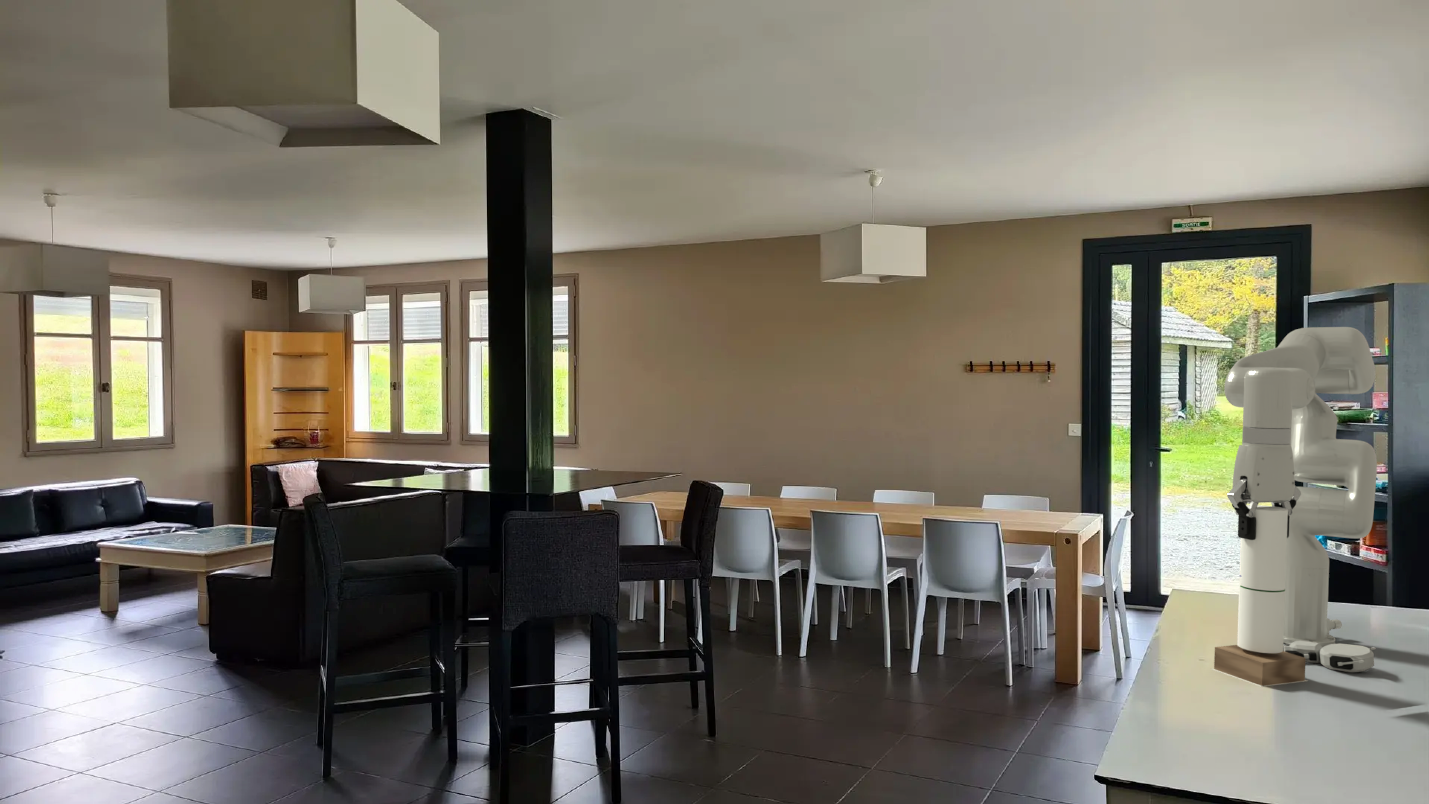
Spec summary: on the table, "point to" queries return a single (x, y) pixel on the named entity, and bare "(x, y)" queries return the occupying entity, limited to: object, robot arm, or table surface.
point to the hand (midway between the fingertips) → (1263, 536)
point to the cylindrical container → (1263, 583)
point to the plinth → (1259, 665)
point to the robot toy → (1334, 655)
